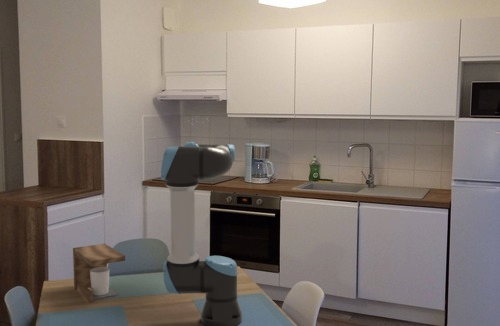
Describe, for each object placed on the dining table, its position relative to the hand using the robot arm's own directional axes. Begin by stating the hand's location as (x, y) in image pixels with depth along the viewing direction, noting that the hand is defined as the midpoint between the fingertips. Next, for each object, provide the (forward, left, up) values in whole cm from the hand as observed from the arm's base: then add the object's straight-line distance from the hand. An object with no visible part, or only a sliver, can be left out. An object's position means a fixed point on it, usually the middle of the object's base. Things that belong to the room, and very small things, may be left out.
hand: (179, 228), depth 236 cm
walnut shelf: (-3, +34, -27) cm, 43 cm away
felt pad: (-3, +33, -27) cm, 43 cm away
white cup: (-3, +33, -26) cm, 43 cm away
